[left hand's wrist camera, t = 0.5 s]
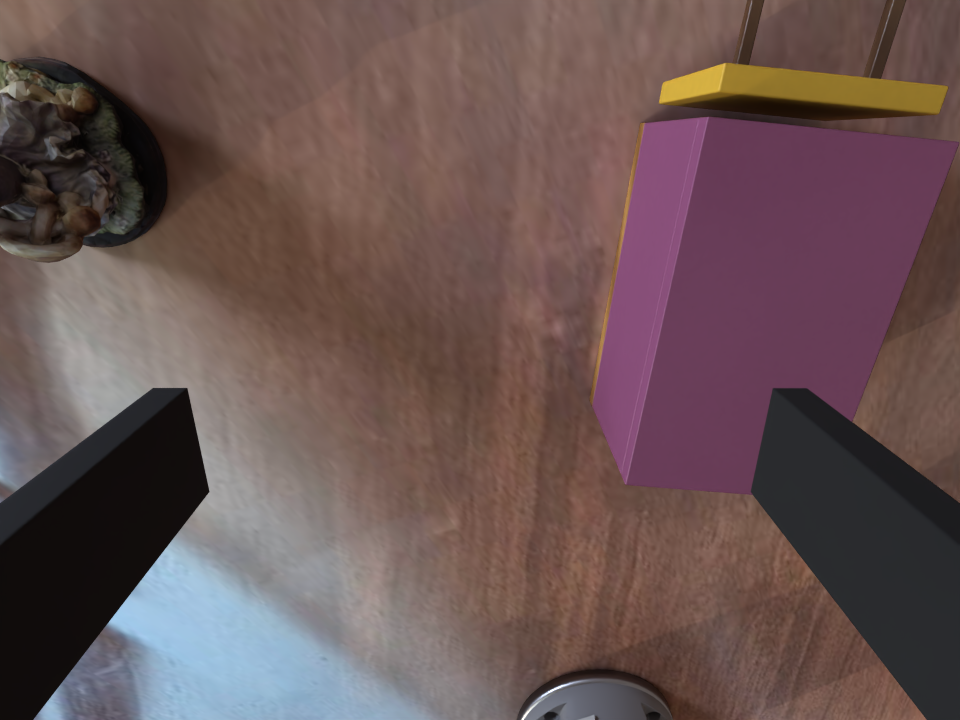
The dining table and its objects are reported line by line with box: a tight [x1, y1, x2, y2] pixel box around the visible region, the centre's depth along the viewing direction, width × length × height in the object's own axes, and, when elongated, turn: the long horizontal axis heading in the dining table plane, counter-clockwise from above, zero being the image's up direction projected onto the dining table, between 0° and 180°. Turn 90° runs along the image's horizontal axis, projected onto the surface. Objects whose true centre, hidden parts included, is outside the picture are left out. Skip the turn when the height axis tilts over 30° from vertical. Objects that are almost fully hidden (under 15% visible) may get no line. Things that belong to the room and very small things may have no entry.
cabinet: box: [590, 117, 959, 495], centre depth 33 cm, size 19×12×11 cm, turn 175°
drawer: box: [659, 0, 948, 121], centre depth 31 cm, size 24×10×9 cm, turn 175°
